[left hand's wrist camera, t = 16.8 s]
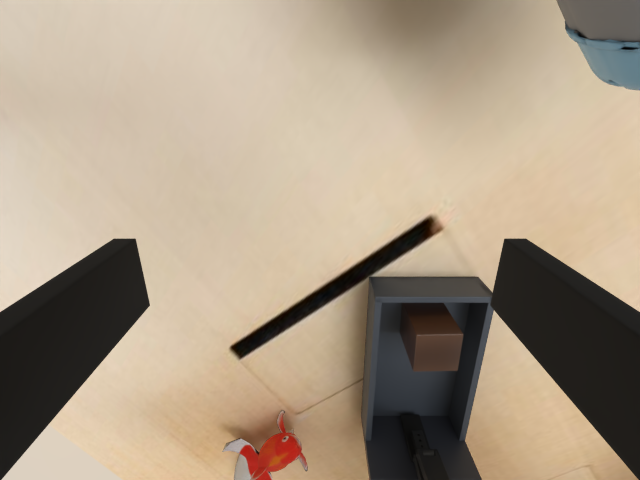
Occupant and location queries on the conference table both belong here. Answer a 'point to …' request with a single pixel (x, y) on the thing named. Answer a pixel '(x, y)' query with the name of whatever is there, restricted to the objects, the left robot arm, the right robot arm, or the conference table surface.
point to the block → (430, 337)
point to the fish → (266, 454)
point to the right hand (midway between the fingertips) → (408, 422)
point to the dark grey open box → (421, 376)
